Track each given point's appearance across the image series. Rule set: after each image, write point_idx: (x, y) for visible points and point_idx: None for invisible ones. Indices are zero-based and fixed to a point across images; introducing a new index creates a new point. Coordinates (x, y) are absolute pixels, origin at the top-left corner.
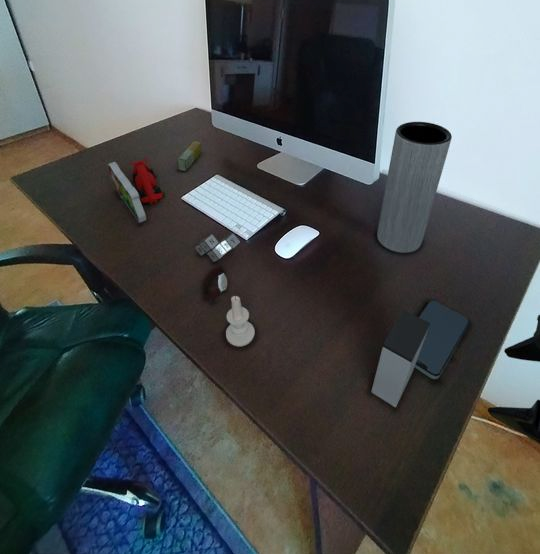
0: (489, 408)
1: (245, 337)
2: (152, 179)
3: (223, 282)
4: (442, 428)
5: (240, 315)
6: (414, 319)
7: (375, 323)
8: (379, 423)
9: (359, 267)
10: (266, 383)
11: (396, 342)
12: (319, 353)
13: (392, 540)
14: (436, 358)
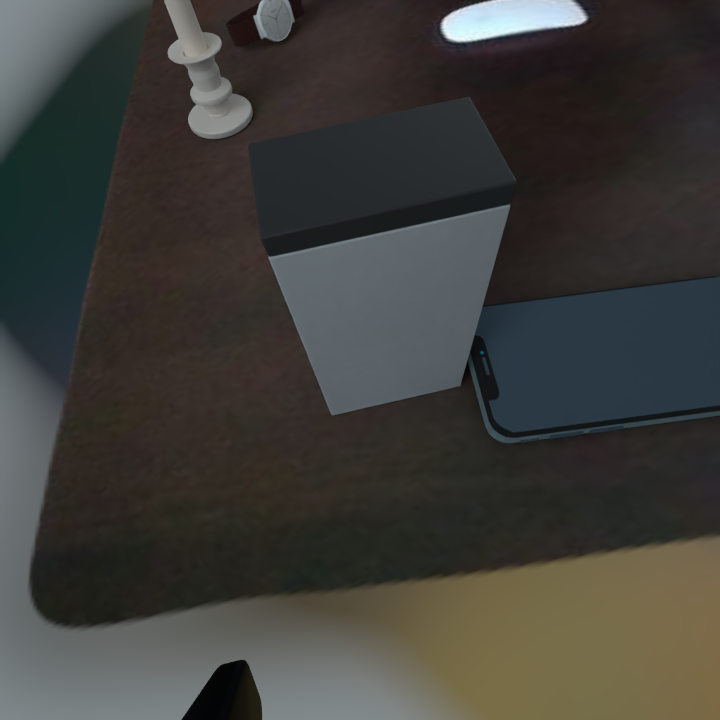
0: (229, 670)
1: (216, 123)
2: None
3: (274, 18)
4: (384, 541)
5: (188, 41)
6: (465, 139)
7: None
8: (265, 413)
9: (601, 122)
10: (169, 211)
11: (291, 162)
12: None
13: (40, 601)
14: (552, 399)
